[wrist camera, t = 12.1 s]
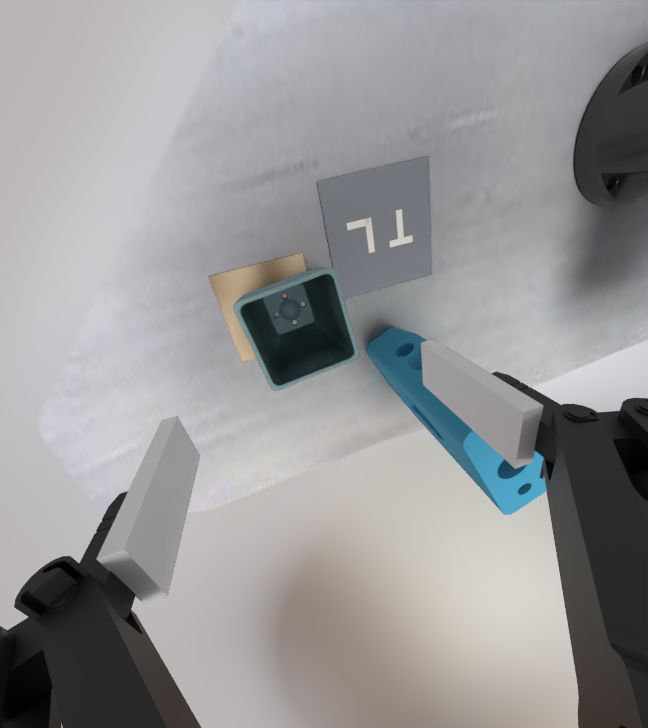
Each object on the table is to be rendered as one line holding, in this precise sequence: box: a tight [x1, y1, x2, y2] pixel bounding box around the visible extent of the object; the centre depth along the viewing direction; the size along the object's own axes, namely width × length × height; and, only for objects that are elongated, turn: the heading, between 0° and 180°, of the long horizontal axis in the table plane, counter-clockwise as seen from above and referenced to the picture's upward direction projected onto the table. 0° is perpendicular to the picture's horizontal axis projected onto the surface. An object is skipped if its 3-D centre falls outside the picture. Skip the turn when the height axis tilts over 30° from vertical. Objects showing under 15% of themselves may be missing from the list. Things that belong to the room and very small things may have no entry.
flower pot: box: [233, 267, 359, 391], centre depth 28 cm, size 9×9×9 cm
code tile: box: [317, 156, 432, 299], centre depth 31 cm, size 12×12×1 cm
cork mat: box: [209, 253, 307, 362], centre depth 32 cm, size 10×10×1 cm
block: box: [366, 327, 547, 515], centre depth 30 cm, size 12×5×20 cm, turn 35°
